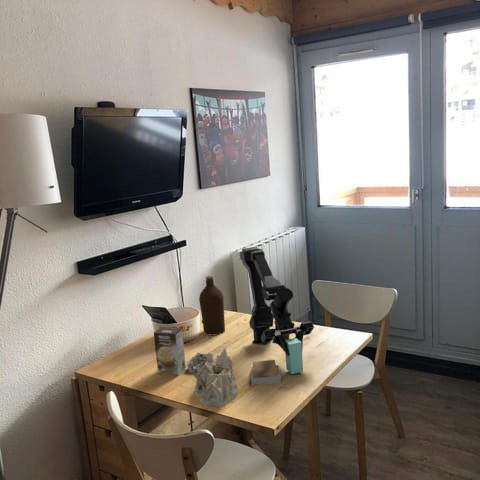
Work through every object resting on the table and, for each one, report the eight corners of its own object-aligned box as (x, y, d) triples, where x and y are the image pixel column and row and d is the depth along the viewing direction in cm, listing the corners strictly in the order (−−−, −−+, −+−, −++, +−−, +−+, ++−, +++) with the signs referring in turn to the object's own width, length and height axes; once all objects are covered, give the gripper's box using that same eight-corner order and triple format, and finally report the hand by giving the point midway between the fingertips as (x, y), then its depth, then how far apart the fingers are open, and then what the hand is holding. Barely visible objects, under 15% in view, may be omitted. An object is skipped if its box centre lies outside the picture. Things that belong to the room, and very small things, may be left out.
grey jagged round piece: (206, 379, 187) (202, 340, 183) (247, 388, 179) (243, 348, 175) (180, 402, 174) (175, 361, 170) (223, 413, 166) (219, 370, 162)
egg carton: (202, 374, 192) (201, 364, 191) (184, 372, 195) (183, 362, 194) (216, 362, 201) (215, 352, 200) (198, 360, 204) (197, 350, 204)
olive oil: (231, 328, 235) (226, 274, 231) (217, 337, 226) (212, 280, 222) (211, 326, 241) (206, 273, 236) (197, 334, 232) (192, 279, 227)
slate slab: (251, 386, 180) (251, 379, 180) (251, 373, 190) (250, 367, 190) (281, 384, 180) (280, 377, 180) (279, 371, 190) (278, 365, 189)
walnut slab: (253, 378, 181) (253, 371, 180) (253, 368, 189) (252, 361, 188) (276, 376, 181) (276, 369, 180) (275, 366, 189) (274, 359, 188)
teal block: (286, 369, 188) (284, 340, 186) (298, 366, 189) (296, 337, 187) (291, 374, 184) (289, 344, 182) (303, 371, 185) (301, 341, 183)
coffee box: (157, 373, 195) (152, 332, 192) (165, 366, 201) (160, 326, 198) (179, 375, 192) (174, 333, 189) (186, 368, 198) (182, 327, 195)
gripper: (299, 320, 201) (313, 358, 193) (253, 329, 196) (265, 368, 188) (306, 306, 192) (321, 345, 184) (258, 315, 187) (272, 355, 179)
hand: (295, 354), depth 184 cm, fingers closed on teal block, 4 cm apart
